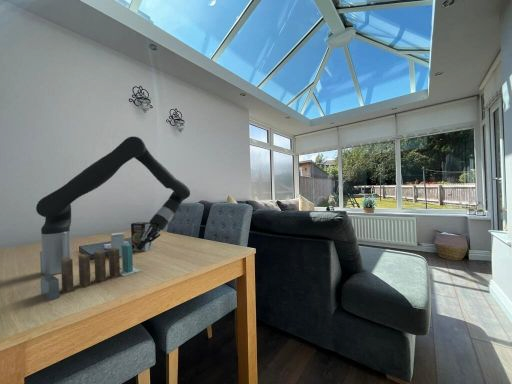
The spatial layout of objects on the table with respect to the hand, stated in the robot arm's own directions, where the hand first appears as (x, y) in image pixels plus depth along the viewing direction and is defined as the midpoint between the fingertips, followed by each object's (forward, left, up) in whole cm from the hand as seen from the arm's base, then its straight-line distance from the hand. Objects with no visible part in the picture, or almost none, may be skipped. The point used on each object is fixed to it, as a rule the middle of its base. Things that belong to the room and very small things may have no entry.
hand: (137, 249), depth 97 cm
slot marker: (-2, -4, -8) cm, 10 cm away
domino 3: (-7, -13, -8) cm, 17 cm away
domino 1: (-12, -21, -8) cm, 26 cm away
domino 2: (-10, -17, -8) cm, 22 cm away
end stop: (-15, -25, -8) cm, 31 cm away
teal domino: (-2, -4, -8) cm, 9 cm away
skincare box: (-23, +19, -9) cm, 31 cm away
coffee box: (-17, +31, -9) cm, 36 cm away
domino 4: (-5, -8, -8) cm, 13 cm away
